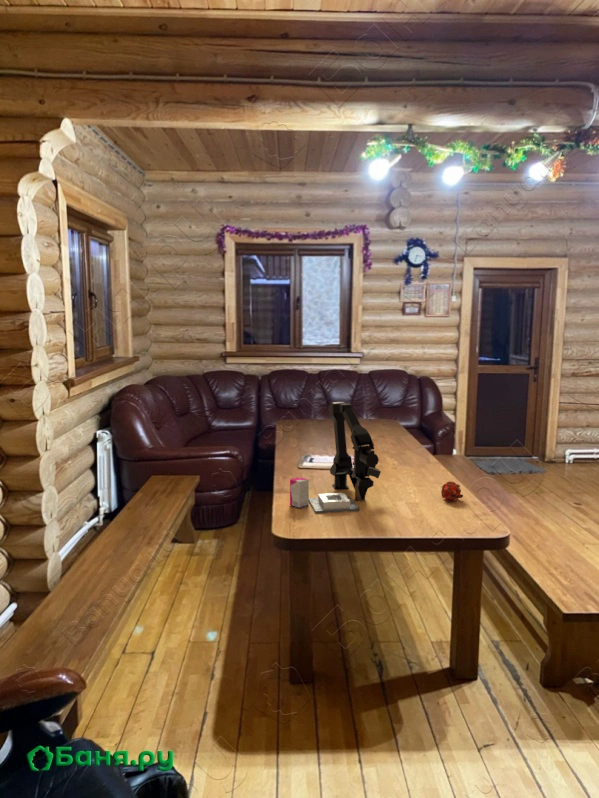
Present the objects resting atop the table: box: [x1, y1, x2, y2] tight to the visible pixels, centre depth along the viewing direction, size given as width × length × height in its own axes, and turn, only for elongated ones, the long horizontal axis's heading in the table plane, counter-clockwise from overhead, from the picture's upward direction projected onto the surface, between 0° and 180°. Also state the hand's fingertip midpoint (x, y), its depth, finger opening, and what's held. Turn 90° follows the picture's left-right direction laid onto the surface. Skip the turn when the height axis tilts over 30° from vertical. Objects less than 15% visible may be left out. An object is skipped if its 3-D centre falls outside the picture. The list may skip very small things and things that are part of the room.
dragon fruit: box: [440, 481, 464, 503], centre depth 240 cm, size 8×8×12 cm
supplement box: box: [289, 476, 310, 509], centre depth 232 cm, size 6×6×12 cm
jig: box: [309, 492, 360, 514], centre depth 232 cm, size 16×18×4 cm
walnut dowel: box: [354, 483, 366, 502], centre depth 239 cm, size 4×4×7 cm
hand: (360, 496), depth 240 cm, fingers open, 8 cm apart
